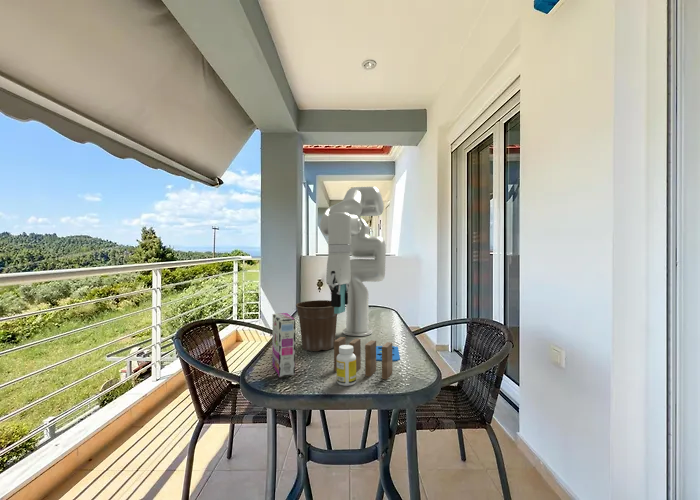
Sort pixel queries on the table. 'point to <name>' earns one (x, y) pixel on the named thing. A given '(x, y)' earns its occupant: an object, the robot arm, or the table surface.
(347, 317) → the robot arm
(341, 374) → the supplement bottle
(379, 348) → the handheld gaming device
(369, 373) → the walnut domino
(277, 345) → the candy bar box
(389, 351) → the walnut domino
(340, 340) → the walnut domino
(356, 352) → the walnut domino
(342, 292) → the domino teal end
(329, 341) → the plant pot
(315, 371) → the table surface
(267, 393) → the table surface
